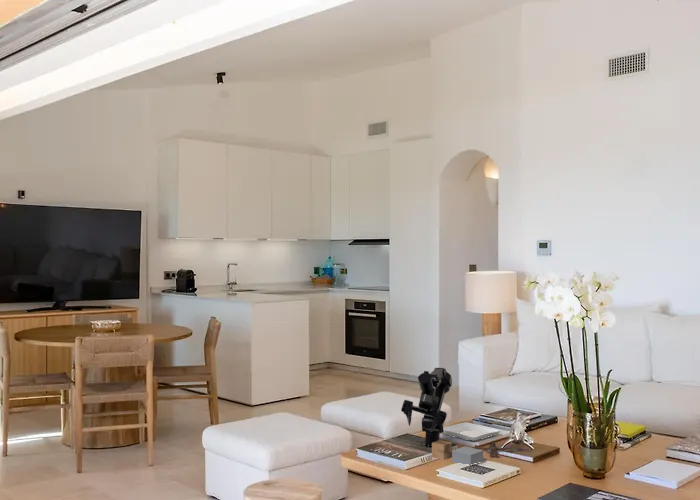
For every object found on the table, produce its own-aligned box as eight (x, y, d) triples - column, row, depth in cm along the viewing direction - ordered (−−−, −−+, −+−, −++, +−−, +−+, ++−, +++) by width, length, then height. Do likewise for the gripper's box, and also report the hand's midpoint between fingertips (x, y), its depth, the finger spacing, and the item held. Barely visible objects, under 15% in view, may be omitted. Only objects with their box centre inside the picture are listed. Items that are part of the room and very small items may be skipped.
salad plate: (465, 428, 348) (465, 421, 348) (501, 436, 332) (501, 429, 332) (437, 435, 334) (437, 428, 334) (473, 444, 318) (473, 437, 318)
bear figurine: (472, 450, 299) (471, 438, 313) (472, 460, 299) (471, 447, 313) (516, 452, 296) (513, 440, 310) (515, 462, 296) (513, 449, 310)
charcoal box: (464, 458, 297) (464, 446, 297) (483, 462, 291) (483, 450, 291) (452, 462, 291) (452, 450, 291) (470, 467, 284) (470, 455, 284)
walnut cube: (439, 454, 302) (439, 440, 302) (451, 456, 298) (451, 442, 298) (431, 457, 298) (431, 442, 298) (443, 460, 294) (443, 445, 294)
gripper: (409, 381, 300) (402, 411, 289) (452, 394, 298) (446, 425, 287) (404, 395, 308) (397, 425, 297) (446, 408, 306) (440, 439, 295)
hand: (420, 428), depth 294 cm, fingers open, 9 cm apart
